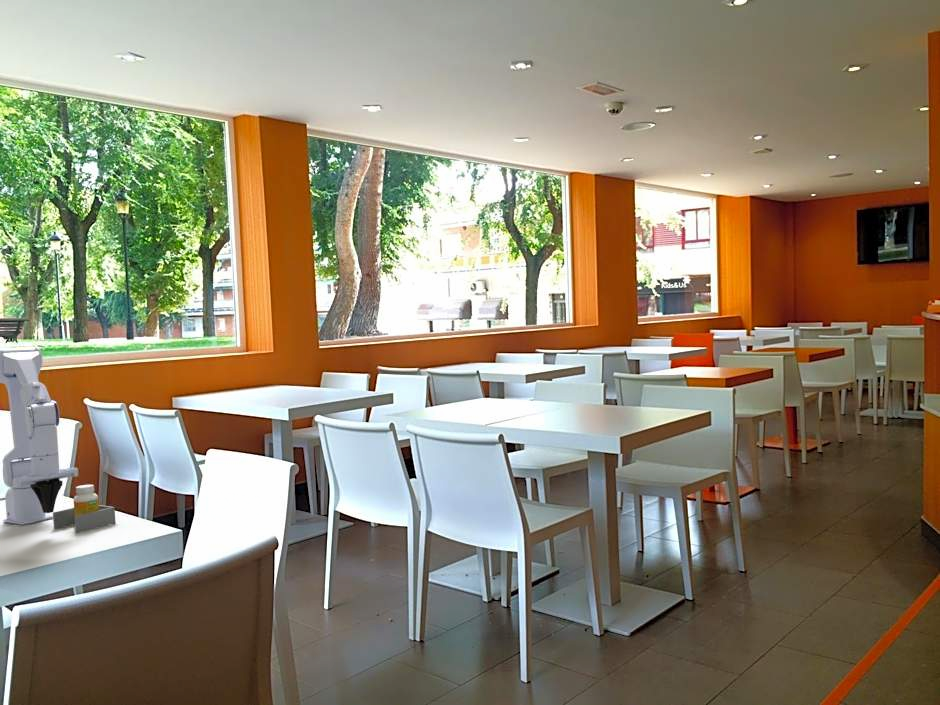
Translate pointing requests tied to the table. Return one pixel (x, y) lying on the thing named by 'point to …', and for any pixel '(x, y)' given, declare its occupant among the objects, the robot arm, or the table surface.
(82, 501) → the supplement bottle
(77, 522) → the crate
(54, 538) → the table surface
